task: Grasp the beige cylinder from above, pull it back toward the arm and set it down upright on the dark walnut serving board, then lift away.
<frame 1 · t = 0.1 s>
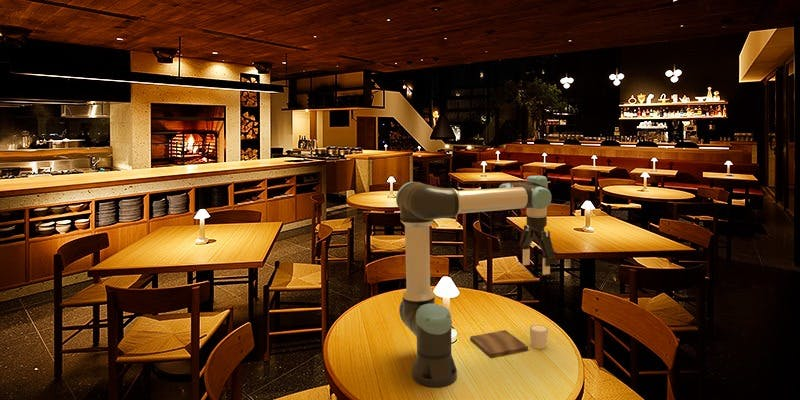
hand: (535, 269, 183), 28 cm above the table, tool pointing down, fingers open, 13 cm apart
serving board: (498, 345, 180), on the table
beige cylinder: (538, 346, 179), on the table
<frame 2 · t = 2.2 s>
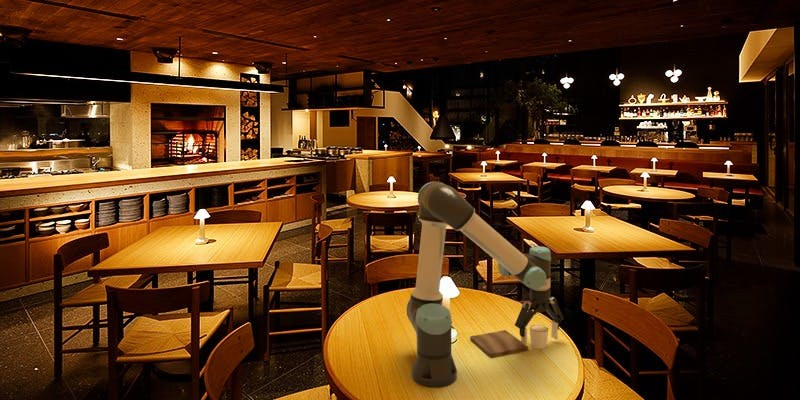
hand: (539, 341, 179), 2 cm above the table, tool pointing down, fingers open, 13 cm apart
nothing on the table moved.
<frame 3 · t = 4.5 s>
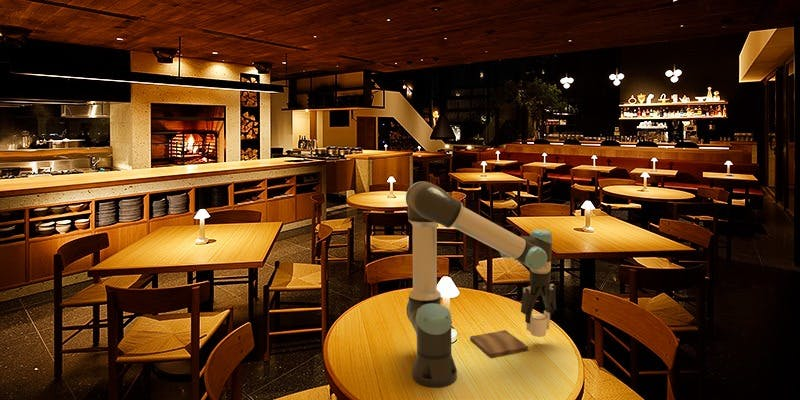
hand: (537, 329, 178), 7 cm above the table, tool pointing down, fingers closed on beige cylinder, 7 cm apart
beige cylinder: (538, 334, 178), point 5 cm above the table, touching gripper
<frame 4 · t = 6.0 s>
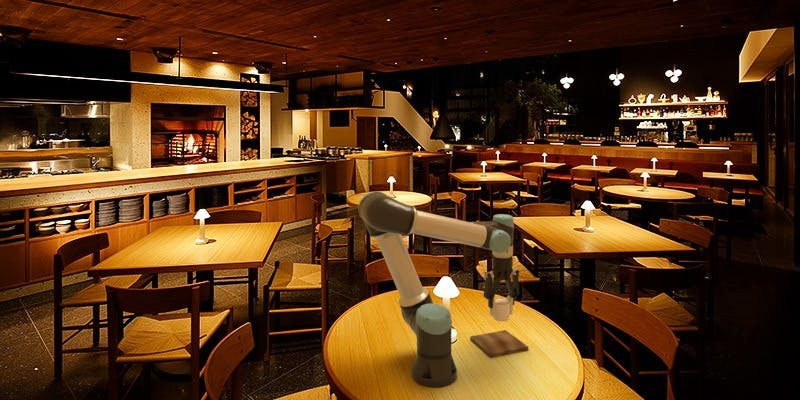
hand: (501, 314, 178), 13 cm above the table, tool pointing down, fingers closed on beige cylinder, 7 cm apart
beige cylinder: (501, 319, 178), point 11 cm above the table, touching gripper
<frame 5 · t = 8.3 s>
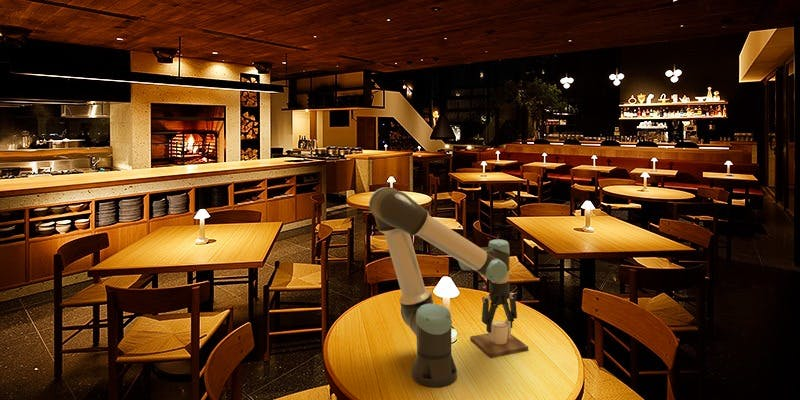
hand: (499, 338, 180), 3 cm above the table, tool pointing down, fingers closed on beige cylinder, 7 cm apart
beige cylinder: (499, 341, 180), point 1 cm above the table, touching gripper, serving board
when the fingers open (3 cm above the table, at t = 8.9 s): beige cylinder stays where it is, resting on serving board.
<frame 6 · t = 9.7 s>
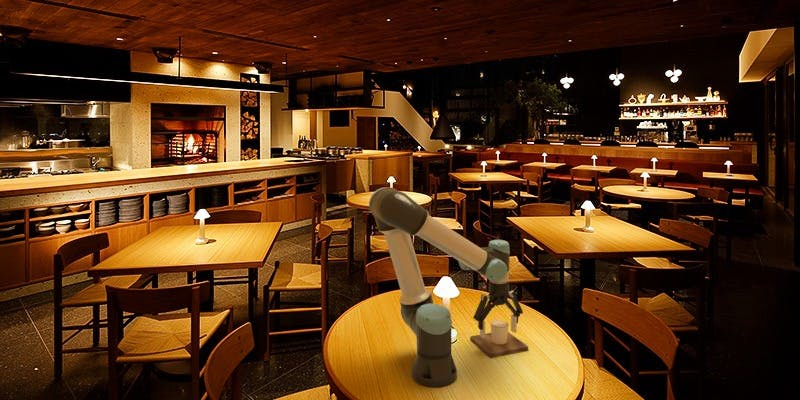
hand: (498, 334, 179), 4 cm above the table, tool pointing down, fingers open, 13 cm apart
beige cylinder: (499, 341, 180), point 1 cm above the table, touching serving board
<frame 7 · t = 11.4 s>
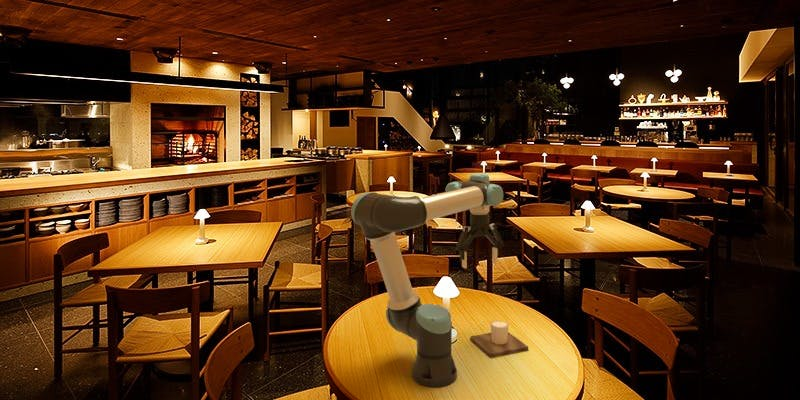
hand: (479, 265, 186), 29 cm above the table, tool pointing down, fingers open, 13 cm apart
nothing on the table moved.
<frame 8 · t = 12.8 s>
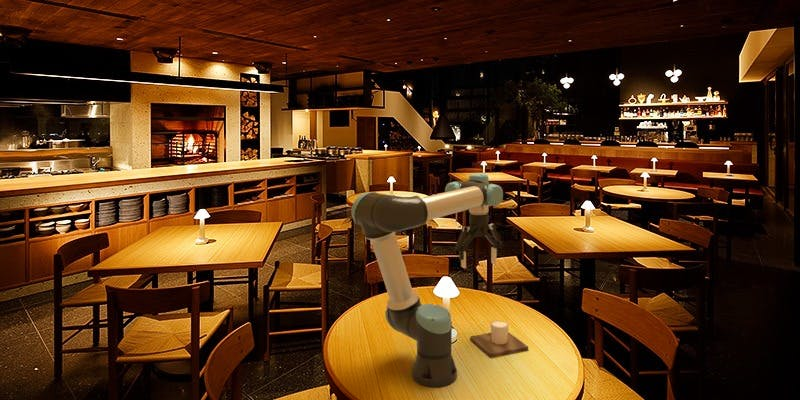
hand: (478, 265, 187), 29 cm above the table, tool pointing down, fingers open, 13 cm apart
nothing on the table moved.
at the end: beige cylinder inside the target area on the serving board (0.4 cm from its centre), point 1.3 cm above the serving board's base; beige cylinder tilted 0°; the gripper is holding nothing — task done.
